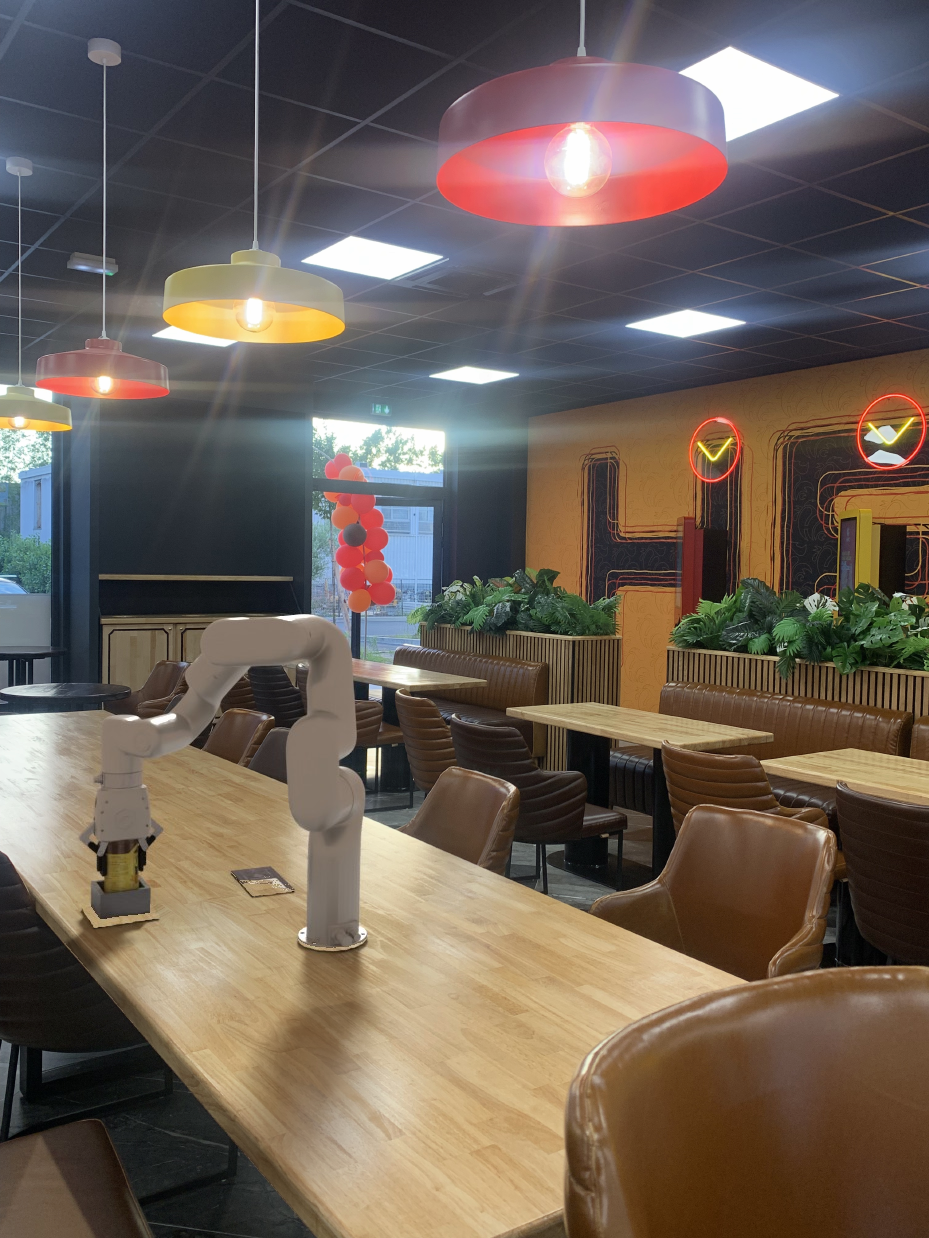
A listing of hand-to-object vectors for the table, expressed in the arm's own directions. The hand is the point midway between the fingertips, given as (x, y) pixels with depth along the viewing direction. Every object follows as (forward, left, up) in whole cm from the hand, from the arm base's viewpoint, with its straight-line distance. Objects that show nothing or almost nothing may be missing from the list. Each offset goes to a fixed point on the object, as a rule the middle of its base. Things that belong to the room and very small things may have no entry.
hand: (121, 871), depth 193 cm
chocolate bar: (+7, -31, -9) cm, 33 cm away
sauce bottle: (0, 0, -7) cm, 7 cm away
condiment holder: (0, 0, -8) cm, 8 cm away
